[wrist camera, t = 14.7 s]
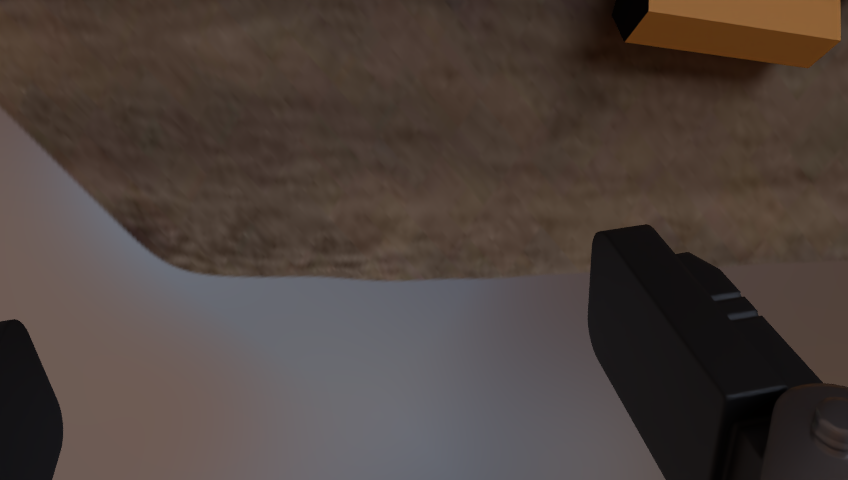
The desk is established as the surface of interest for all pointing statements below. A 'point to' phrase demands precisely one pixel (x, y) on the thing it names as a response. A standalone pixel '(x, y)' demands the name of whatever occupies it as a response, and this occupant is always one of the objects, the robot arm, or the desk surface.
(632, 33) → the pan flute
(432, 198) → the desk surface
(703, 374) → the robot arm
